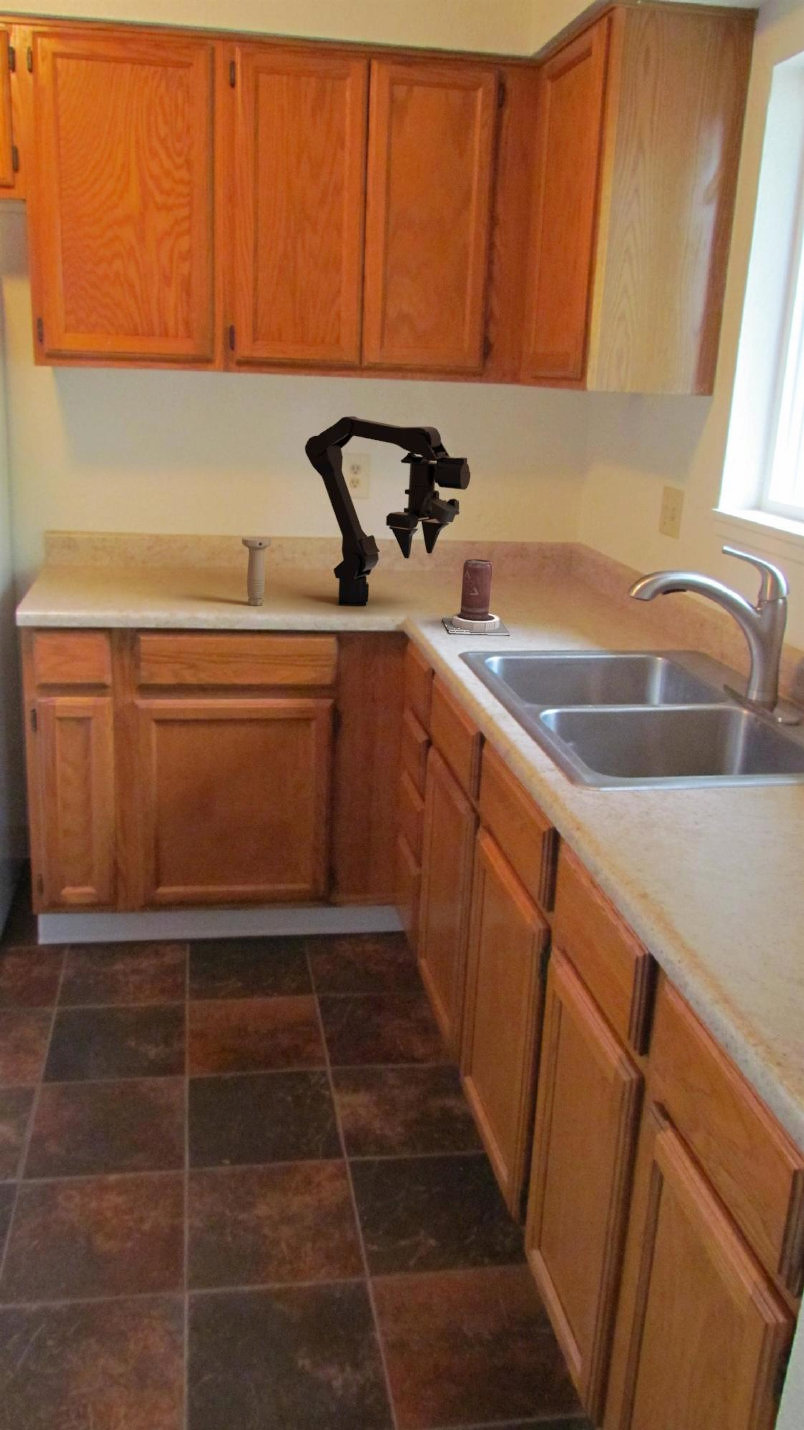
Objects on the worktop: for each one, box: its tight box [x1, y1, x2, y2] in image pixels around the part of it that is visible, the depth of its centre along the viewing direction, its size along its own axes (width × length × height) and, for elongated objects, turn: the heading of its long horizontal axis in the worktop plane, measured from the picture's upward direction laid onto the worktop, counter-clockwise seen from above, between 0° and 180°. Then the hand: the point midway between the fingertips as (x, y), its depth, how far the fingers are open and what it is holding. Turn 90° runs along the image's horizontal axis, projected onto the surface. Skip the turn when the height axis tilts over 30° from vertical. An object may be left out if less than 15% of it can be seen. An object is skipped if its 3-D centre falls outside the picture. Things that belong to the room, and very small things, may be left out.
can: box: [460, 558, 494, 621], centre depth 261 cm, size 6×6×14 cm
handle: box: [241, 536, 272, 607], centre depth 271 cm, size 5×6×15 cm
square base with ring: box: [441, 611, 510, 633], centre depth 262 cm, size 13×13×2 cm
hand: (418, 555), depth 270 cm, fingers open, 9 cm apart
